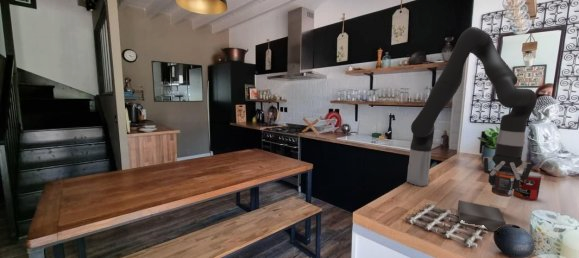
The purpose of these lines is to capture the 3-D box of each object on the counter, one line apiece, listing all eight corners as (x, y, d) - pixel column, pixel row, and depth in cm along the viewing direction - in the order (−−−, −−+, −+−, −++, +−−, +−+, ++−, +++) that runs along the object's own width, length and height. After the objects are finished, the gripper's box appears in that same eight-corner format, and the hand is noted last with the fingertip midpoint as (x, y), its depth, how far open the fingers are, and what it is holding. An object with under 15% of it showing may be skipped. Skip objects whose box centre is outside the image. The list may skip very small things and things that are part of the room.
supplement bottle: (515, 198, 90) (521, 168, 88) (496, 196, 91) (501, 167, 89) (505, 192, 95) (510, 164, 94) (487, 190, 97) (492, 162, 95)
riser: (458, 223, 85) (460, 212, 84) (457, 210, 95) (458, 200, 94) (504, 234, 78) (505, 222, 78) (497, 218, 88) (499, 208, 88)
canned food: (508, 193, 112) (511, 170, 111) (524, 193, 113) (527, 170, 111) (525, 201, 105) (529, 176, 103) (542, 200, 105) (546, 176, 104)
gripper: (533, 144, 89) (525, 188, 92) (484, 139, 97) (477, 179, 100) (539, 147, 83) (530, 194, 86) (486, 141, 91) (479, 185, 93)
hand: (502, 186), depth 93 cm, fingers closed on supplement bottle, 6 cm apart
